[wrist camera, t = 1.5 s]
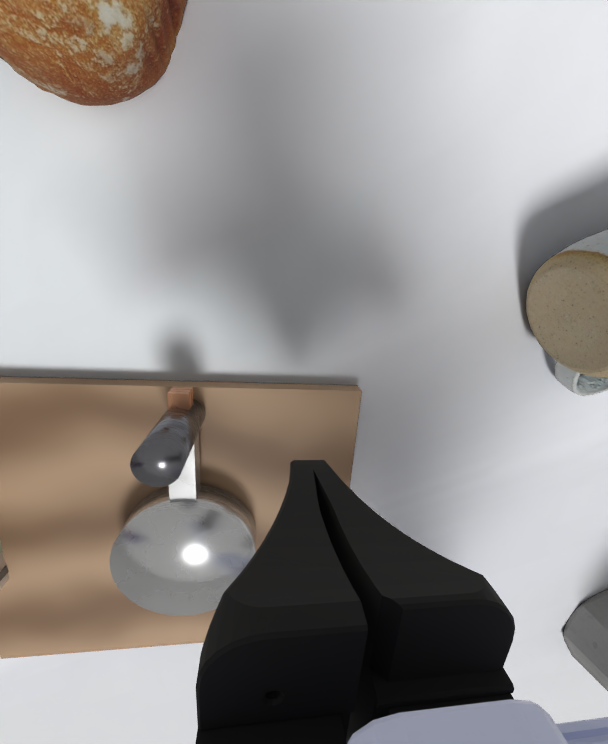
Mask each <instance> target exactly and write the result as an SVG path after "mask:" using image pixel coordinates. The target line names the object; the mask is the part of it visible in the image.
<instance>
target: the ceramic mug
mask: <svg viewBox="0 0 608 744" xmlns="http://www.w3.org/2000/svg"><path fill="white" fill-rule="evenodd" d="M526 310H527V316H528V320H529V324H530V327H531V330H532V332H533V334H534V336H535V337H536V339H537V341H538V342H539V344H540V345H541V346H542V347H543V348H544V350H545V351H546V352H547V353H548V354H549V355H550V356H551V357H553V358H554V359H555V360H556V364H555V377H556V379H557V380H558V381H559V382H560V383H561V384H562V385H564V386H565V387H566V388H567V389H569V390H570V391H572V392H574V393H576V394H578V395H582V396H586V395H593V394H597V393H601V392H604V391H607V390H608V229H607V230H605V231H602V232H599V233H597V234H594V235H591V236H589V237H586V238H584V239H582V240H580V241H578V242H576V243H574V244H572V245H570V246H568V247H567V248H565V249H564V250H562V251H561V252H559V253H558V254H556V255H554V256H553V257H551V258H550V259H549V260H547V261H546V262H545V263H544V264H543V265H542V266H541V267H540V268H539V269H538V270H537V271H536V273H535V275H534V276H533V278H532V280H531V283H530V285H529V288H528V291H527V302H526ZM580 374H584V375H581V376H580Z"/></svg>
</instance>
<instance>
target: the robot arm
mask: <svg viewBox="0 0 608 744" xmlns="http://www.w3.org/2000/svg"><path fill="white" fill-rule="evenodd" d="M514 631H515V624H514V618H513V616H512V615H511V613H510V612H509V610H508V609H507V607H506V606H505V604H504V603H503V601H502V600H501V599H500V597H499V596H498V594H497V593H496V592H495V590H494V589H493V588H492V586H491V585H490V584H489V583H488V581H487V580H486V579H485V578H484V576H483V575H481V574H479V573H476V572H474V571H472V570H470V569H468V568H466V567H463V566H461V565H459V564H457V563H455V562H453V561H450V560H448V559H446V558H445V557H443V556H441V555H439V554H437V553H435V552H434V551H432V550H430V549H428V548H426V547H425V546H423V545H421V544H420V543H418V542H416V541H415V540H413V539H411V538H410V537H408V536H407V535H405V534H404V533H402V532H401V531H399V530H398V529H396V528H395V527H394V526H392V525H391V524H389V523H388V522H387V521H386V520H384V519H383V518H382V517H380V516H379V515H378V514H377V513H375V512H374V511H373V510H372V509H371V508H369V507H368V506H367V505H366V504H365V503H364V502H363V501H362V500H361V499H360V498H359V497H358V496H357V495H356V494H355V493H354V492H353V491H352V490H351V489H350V488H349V487H348V486H347V485H346V484H345V483H344V482H343V481H342V480H341V478H340V477H339V476H338V475H337V474H336V473H335V472H334V470H333V469H332V468H331V467H330V466H329V465H328V463H327V462H326V461H325V460H293V461H292V462H291V463H290V476H289V484H288V487H287V491H286V494H285V497H284V500H283V502H282V505H281V507H280V510H279V512H278V514H277V516H276V519H275V521H274V523H273V525H272V527H271V528H270V530H269V532H268V534H267V535H266V537H265V539H264V541H263V542H262V544H261V545H260V547H259V548H258V550H257V551H256V553H255V554H254V556H253V557H252V558H251V560H250V561H249V563H248V564H247V565H246V567H245V568H244V569H243V571H242V572H241V573H240V574H239V575H238V576H237V578H236V579H235V580H234V581H233V582H232V583H231V585H230V586H229V587H228V588H227V589H226V590H225V592H224V593H223V595H222V597H221V599H220V602H219V604H218V606H217V609H216V611H215V613H214V616H213V618H212V621H211V623H210V626H209V629H208V631H207V634H206V637H205V641H204V644H203V648H202V652H201V656H200V663H199V670H198V677H197V683H196V699H197V718H198V732H197V738H196V744H608V717H604V718H597V719H589V720H582V721H574V722H567V723H560V724H555V722H554V721H553V719H552V718H551V716H550V715H549V714H548V713H547V712H546V711H545V710H544V709H542V708H541V707H540V706H539V705H538V704H536V703H533V702H531V701H525V700H514V699H513V697H512V695H511V693H513V691H514V687H513V683H512V682H511V680H510V678H509V677H508V675H507V673H506V672H505V670H504V668H503V665H504V663H505V660H506V657H507V655H508V652H509V649H510V647H511V644H512V641H513V636H514Z"/></svg>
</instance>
